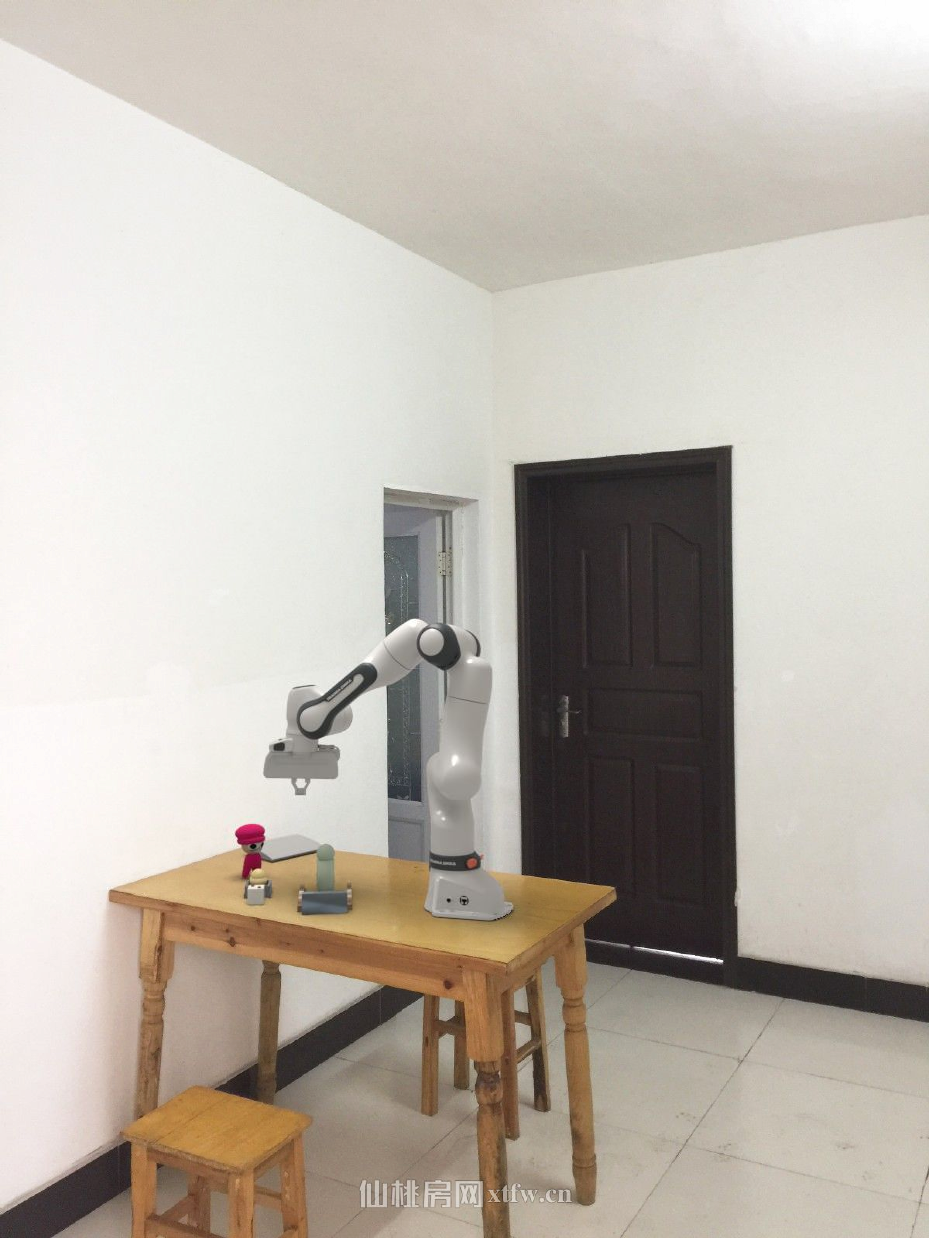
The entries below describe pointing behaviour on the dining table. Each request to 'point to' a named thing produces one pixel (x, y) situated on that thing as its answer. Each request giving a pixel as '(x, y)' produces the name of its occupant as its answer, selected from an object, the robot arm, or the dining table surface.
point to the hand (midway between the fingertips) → (300, 794)
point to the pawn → (325, 868)
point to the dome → (258, 877)
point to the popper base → (267, 889)
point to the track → (324, 901)
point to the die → (256, 894)
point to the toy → (251, 846)
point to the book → (288, 847)
